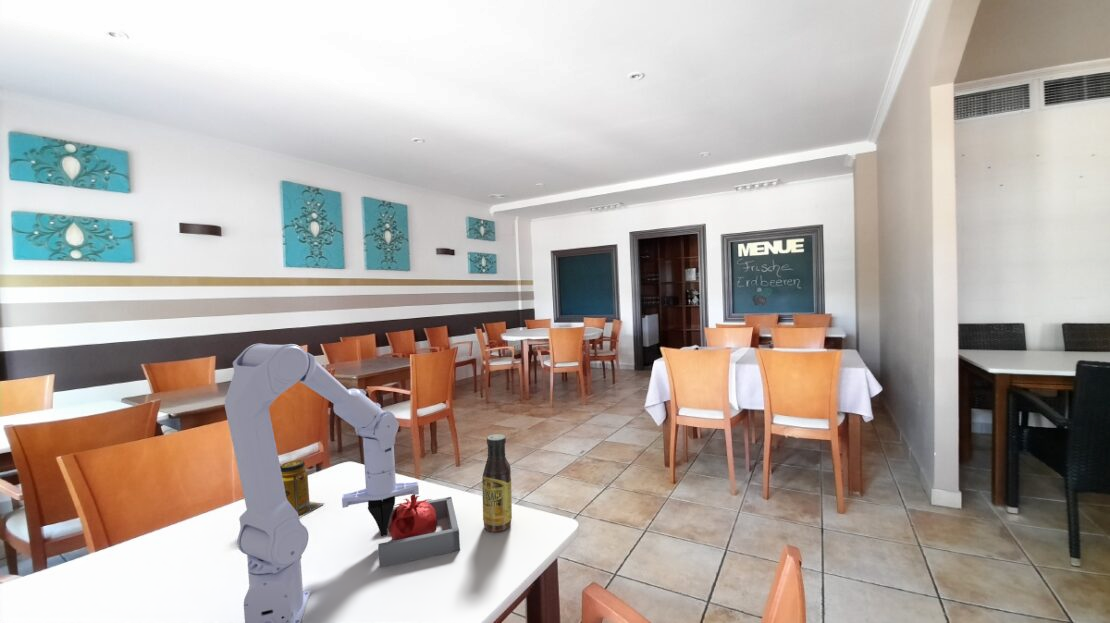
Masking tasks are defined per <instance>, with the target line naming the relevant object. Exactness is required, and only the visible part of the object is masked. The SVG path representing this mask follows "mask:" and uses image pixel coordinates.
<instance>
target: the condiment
mask: <svg viewBox="0 0 1110 623" xmlns="http://www.w3.org/2000/svg"><path fill="white" fill-rule="evenodd" d="M280 468H281V473H282V478H283V483H284V488H285V493H286V498H287V500H288V502H289V503H290V504H291V505H292V506H293V508H294V509H295V510H296V511H297V513H298V516H299V519H300V518H302V517H304V516H306V515H307V514H309V513H311V512H312V511H314V510H315V509H317V508H320V506H322V505H324V504H325V502H314V501H310V493H309V492H310V490H309V489H310V488H309V477H308V472H307V471H306V463H305V461H304V460H299V459H298V460H292V461H288V462H284V463H283V464H280Z"/></svg>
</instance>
